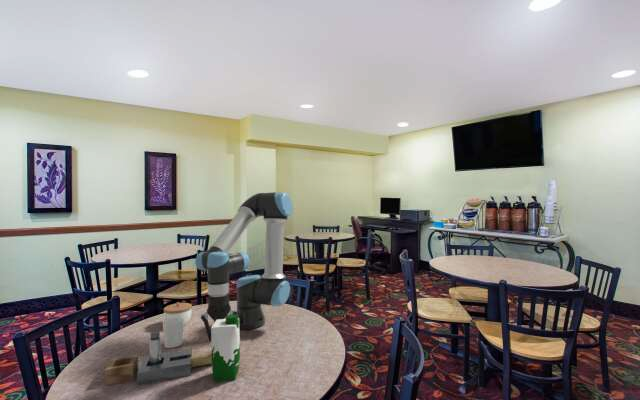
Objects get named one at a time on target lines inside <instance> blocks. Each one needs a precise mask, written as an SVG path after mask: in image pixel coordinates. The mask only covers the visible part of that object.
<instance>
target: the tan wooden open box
mask: <svg viewBox="0 0 640 400" xmlns="http://www.w3.org/2000/svg"><path fill="white" fill-rule="evenodd" d="M138 370H139V354H134V355H128V356H122V357H116V358H111V360H110V361H109V363H108V365H107V366H106V368H105V370H104V376H105V377H104V379H105V380H104V383H105V384H104V385H105V386H109V385H114V384H120V383H125V382H131V381H134V379H135V377H136V376H137V372H138Z"/></svg>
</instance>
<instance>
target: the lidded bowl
mask: <svg viewBox="0 0 640 400" xmlns="http://www.w3.org/2000/svg"><path fill="white" fill-rule="evenodd" d="M192 311H193V305H192V303H188V302H179V301H178V302H176V303H173V304H169V305H166V306H165V307H164V308H163V313H164V314H163V316H164V321H165V320H167V319H170V318H183V327H184V326H185V325H187V324H188V323H189V321H190V320H191V317H192V314H193V313H192Z"/></svg>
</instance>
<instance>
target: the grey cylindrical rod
mask: <svg viewBox="0 0 640 400" xmlns="http://www.w3.org/2000/svg"><path fill="white" fill-rule="evenodd" d="M148 341H149V342H148V345H149V350H148V351H149V356H150V366H153V365H159V364H161V354H162V337H161V336H160V331H153V332H150V338H149V340H148Z"/></svg>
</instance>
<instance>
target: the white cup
mask: <svg viewBox="0 0 640 400" xmlns="http://www.w3.org/2000/svg"><path fill="white" fill-rule="evenodd" d="M162 332H163V333H162V334H163V341H164V347H165V348H166V349H172V348H173V349H174V348H177V347H180V346H181V345H182V344H183V337H184V336H183V335H184V326H183V318H170V319H167V320H165V319H164V320H163V321H162Z"/></svg>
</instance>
